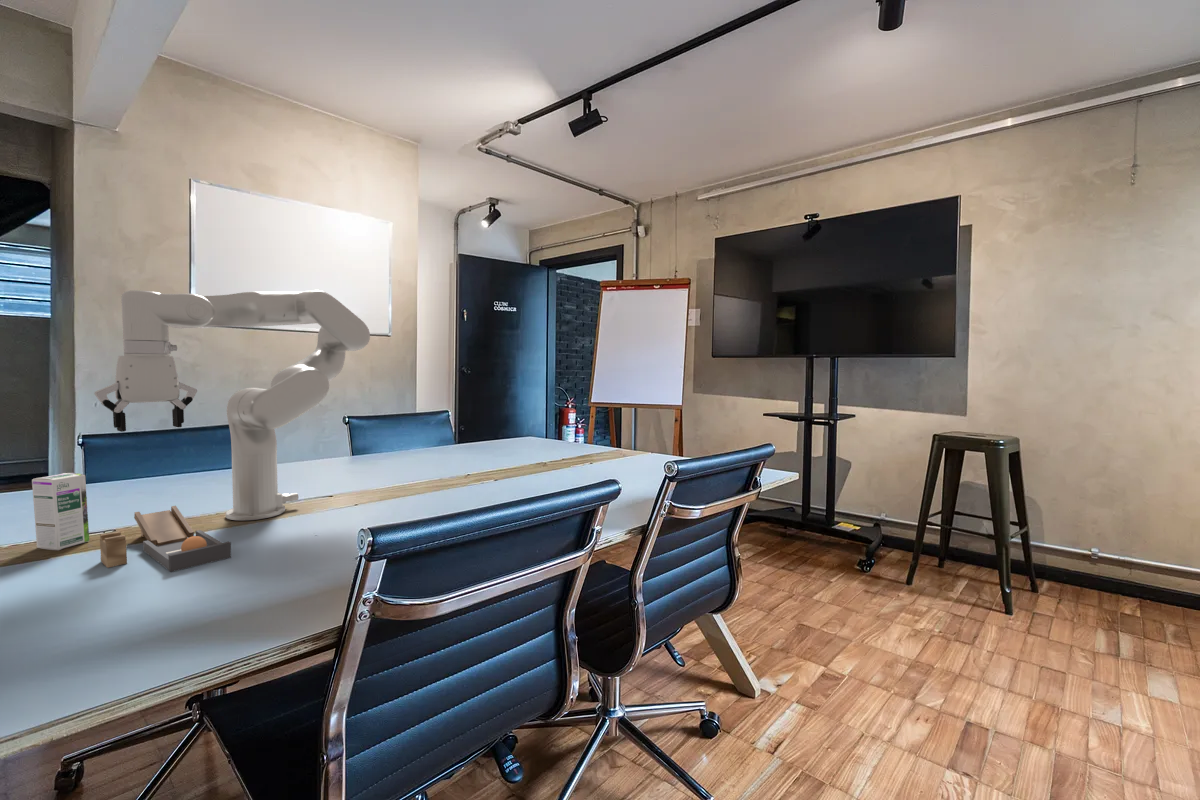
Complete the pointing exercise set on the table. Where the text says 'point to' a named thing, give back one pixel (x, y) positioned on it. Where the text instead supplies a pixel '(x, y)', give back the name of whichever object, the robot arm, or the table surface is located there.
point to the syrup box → (60, 511)
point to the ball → (193, 543)
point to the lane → (188, 553)
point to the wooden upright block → (113, 549)
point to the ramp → (164, 526)
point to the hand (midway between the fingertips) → (150, 428)
